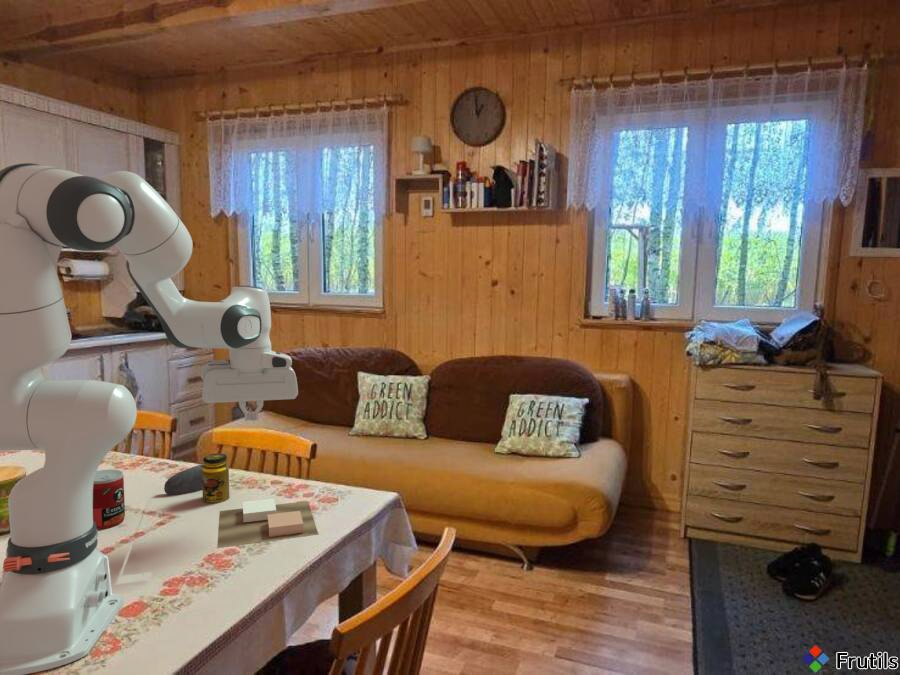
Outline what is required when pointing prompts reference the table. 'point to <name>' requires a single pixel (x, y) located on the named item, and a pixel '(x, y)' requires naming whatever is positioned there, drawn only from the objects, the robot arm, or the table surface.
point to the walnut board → (260, 526)
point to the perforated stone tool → (185, 481)
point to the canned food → (108, 498)
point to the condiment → (215, 478)
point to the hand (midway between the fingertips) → (251, 420)
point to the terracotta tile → (285, 523)
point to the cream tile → (258, 510)
